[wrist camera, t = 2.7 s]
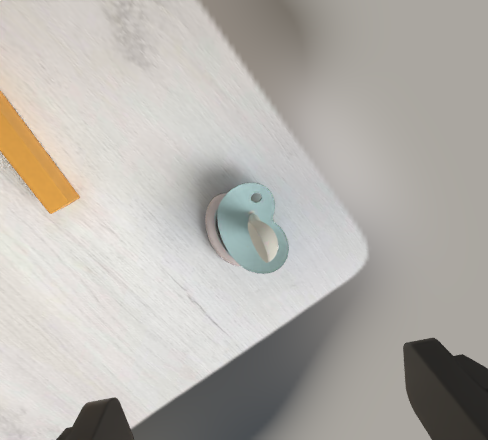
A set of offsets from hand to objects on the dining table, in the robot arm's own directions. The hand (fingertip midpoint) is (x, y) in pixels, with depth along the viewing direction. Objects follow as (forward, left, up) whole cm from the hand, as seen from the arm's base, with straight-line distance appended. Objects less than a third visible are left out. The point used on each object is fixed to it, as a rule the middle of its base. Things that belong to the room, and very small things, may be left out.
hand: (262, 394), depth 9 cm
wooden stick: (+15, -10, -18) cm, 25 cm away
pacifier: (0, +1, -18) cm, 18 cm away
